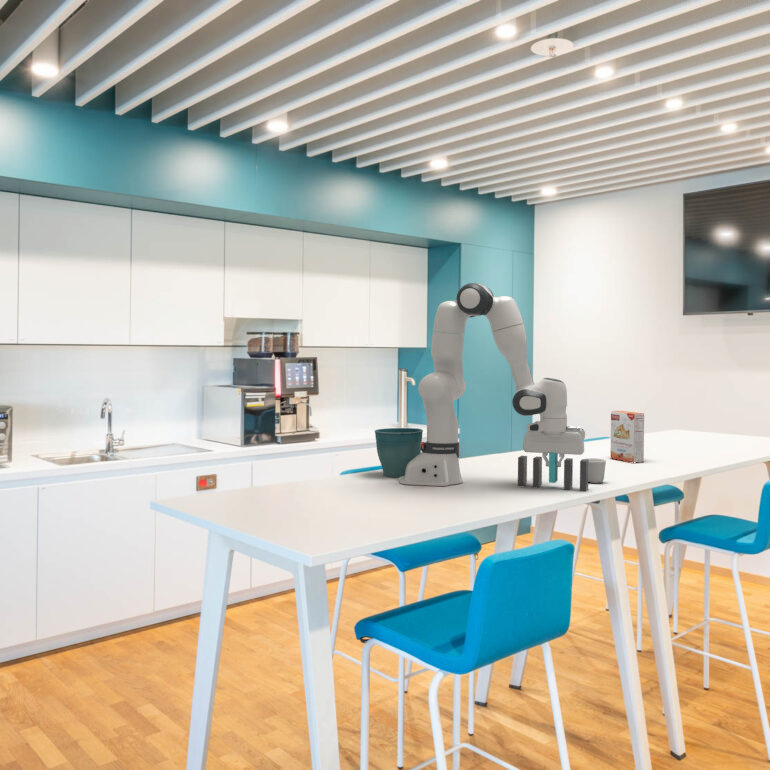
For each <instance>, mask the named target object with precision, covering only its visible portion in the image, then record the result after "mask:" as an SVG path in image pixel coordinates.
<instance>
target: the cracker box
mask: <svg viewBox="0 0 770 770" xmlns="http://www.w3.org/2000/svg"><path fill="white" fill-rule="evenodd" d="M644 448H645V413H643V412H635V411H628V410H627V411H626V410H612V411H611V412H610V459H611V458H613V459H612V460H615V459H617V460H616V461H620V460H623V461H622V462H625V461H628V462H627V463H630V462H633V463H632V464H635V463H634V462H642V463H644V457H645V454H644V452H645V451H644V450H645V449H644Z"/></svg>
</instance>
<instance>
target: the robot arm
mask: <svg viewBox="0 0 770 770" xmlns="http://www.w3.org/2000/svg"><path fill="white" fill-rule="evenodd" d="M479 316H484V317H486V318H487V320H488V323H489V325H490V329H491V333H492V337H493V339H494V343H495V344H496V347H497V349H498V351H499V353H501V355H502V356H503V357H504V358H505V359H506V361H507V363H508V366H509V367H510V370H511V374H512V377H513V380H514V381H513V382H514V385H515V393H514V395H513V397H512V400H511V401H512V407H513V409H514V411H515V412H516V413H518V415H521V416H523V417H532V416H534V415H535V416H536V415H539V416H540V418H539V421H538V420H537V421H535V422H532V423H529V424H527V425H526V433H524V437H523V444H522V449H523V451H524V453H539V454H542V456H541V457H542V459H543V460H544V461H545V467H548V468H549V458H548V457H547V456H549V453H556V454H558V458H559V460H558V461H556V467H558V468H561V467H562V461H564V458H565V455H573V456H574V455H578V456H581V455H583V454H584V453H585V442H584V440H585V438H586V431H585V430H584V428H581V426H568V415H567V406H568V393H567V386H566V384H565V383H564V382H563V380H560V379H557V378H551V377H544V378H542V379H541V380H540V381H538V382H534V380H533V377H532V373H531V369H530V365H529V362H528V354H527V352H528V351H527V350H528V348H527V347H528V346H527V345H528V344H527V333H526V328H525V324H524V320H523V317H522V314H521V311H520V309H519V307H518V303H516V301H515V299H514V297H511V296H508V295H501V296H494V293H493V292H492V290H491V289H490V288H489V287H488V286H486V285H484V284H483V283H476V282H468V283H466V284H465V285H462V286H461V288H460V289H459V290H458V291H457V294H456V300H446V301H443V302H441V303H440V304H439V305H438V307H437V310H436V313H435V317H434V320H433V321H434V322H433V329H432V338H431V347H430V348H431V349H430V355H431V358H432V361H433V362H432V363H433V371H434V372H430V373H428V374H427V375H425V376H423V377H422V379H421V380H420V381H419V384H418V389H417V390H418V395H420V398H421V399H422V402H423V407H424V411H425V412H424V413H425V417H426V441H422V442H421V443H420V446H421V453H420V454H419V455H417V456H416V457H415V458H414V459H412V460H411V461H410V462H409V463H408V464H407V466H406V470H405V476H401V477H398V482H399V484H402V485H413V486H430V487H431V486H432V487H436V486H437V487H446V486H447V487H448V486H452V485H457V484H462V483H463V478H462V474H461V467H460V459H459V458H460V454H461V453H460V452H461V451H460V449H461V446H460V442H459V419H458V416H457V415H456V411H455V407H454V402H455V401H457V400H459V399H460V398H461V397H462V396H463V395H464V393H465V392H466V389H467V388H466V387H467V386H466V385H467V383H466V381H465V378H464V368H463V367H464V365H463V352H464V351H463V349H464V341H465V331H466V323H467V321H468V319H469V318H474V317H479Z"/></svg>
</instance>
